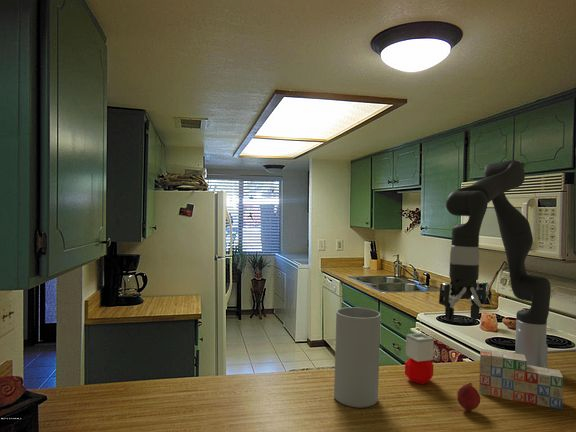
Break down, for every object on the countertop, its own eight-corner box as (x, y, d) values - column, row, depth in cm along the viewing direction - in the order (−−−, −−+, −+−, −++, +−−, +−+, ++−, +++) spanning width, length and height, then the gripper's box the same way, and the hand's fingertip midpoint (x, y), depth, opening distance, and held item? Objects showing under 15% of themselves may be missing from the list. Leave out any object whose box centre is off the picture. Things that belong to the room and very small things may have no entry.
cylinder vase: (338, 386, 128) (340, 305, 128) (379, 393, 124) (382, 309, 124) (329, 404, 116) (332, 315, 116) (375, 412, 113) (378, 320, 112)
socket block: (420, 353, 138) (421, 332, 138) (433, 359, 132) (433, 338, 132) (405, 355, 136) (406, 334, 136) (417, 361, 130) (418, 340, 130)
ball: (434, 379, 135) (435, 356, 135) (428, 388, 129) (429, 363, 129) (409, 374, 140) (410, 351, 140) (402, 382, 133) (403, 358, 133)
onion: (469, 418, 111) (470, 388, 111) (452, 408, 116) (453, 380, 116) (484, 413, 113) (485, 384, 113) (466, 404, 118) (467, 376, 118)
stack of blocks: (559, 401, 122) (560, 359, 122) (562, 410, 117) (564, 366, 116) (479, 386, 132) (480, 347, 131) (478, 394, 126) (479, 353, 126)
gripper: (474, 260, 122) (472, 315, 123) (434, 260, 118) (432, 317, 118) (494, 263, 115) (492, 322, 116) (453, 264, 111) (450, 325, 111)
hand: (462, 319), depth 117 cm, fingers open, 8 cm apart
